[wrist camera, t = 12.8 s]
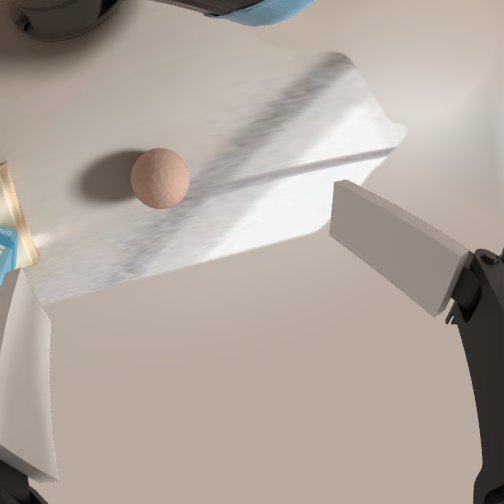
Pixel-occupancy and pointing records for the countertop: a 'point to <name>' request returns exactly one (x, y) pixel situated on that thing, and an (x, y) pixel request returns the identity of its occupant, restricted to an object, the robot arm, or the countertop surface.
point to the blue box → (7, 250)
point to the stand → (16, 220)
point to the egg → (160, 178)
